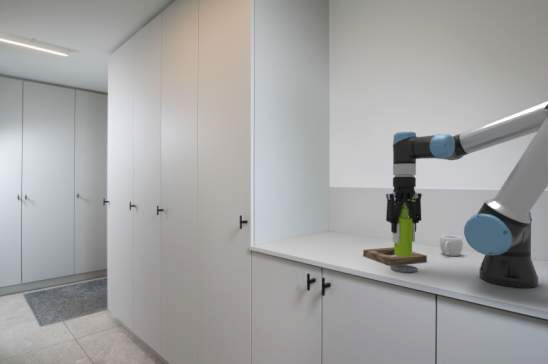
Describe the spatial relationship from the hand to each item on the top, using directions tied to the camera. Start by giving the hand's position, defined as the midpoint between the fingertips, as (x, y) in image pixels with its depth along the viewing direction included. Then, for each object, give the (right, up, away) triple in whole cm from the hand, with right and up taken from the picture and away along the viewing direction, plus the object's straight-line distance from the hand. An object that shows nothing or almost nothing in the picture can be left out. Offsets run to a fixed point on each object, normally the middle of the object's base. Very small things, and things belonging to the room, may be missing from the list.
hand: (403, 241), depth 116 cm
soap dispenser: (0, -5, 0) cm, 5 cm away
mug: (+28, -10, +21) cm, 36 cm away
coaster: (0, -10, 0) cm, 10 cm away
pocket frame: (+2, -10, +16) cm, 18 cm away
